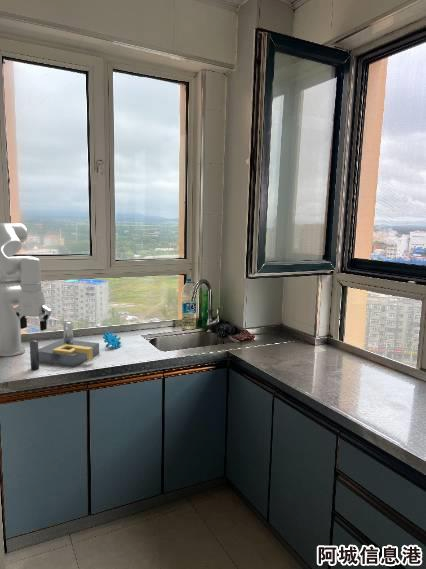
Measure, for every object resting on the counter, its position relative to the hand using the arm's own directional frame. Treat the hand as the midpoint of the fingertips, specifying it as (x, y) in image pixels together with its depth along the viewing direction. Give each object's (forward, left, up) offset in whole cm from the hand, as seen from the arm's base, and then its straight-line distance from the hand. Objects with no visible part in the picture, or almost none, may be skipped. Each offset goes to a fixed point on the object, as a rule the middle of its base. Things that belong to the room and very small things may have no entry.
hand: (33, 329), depth 176 cm
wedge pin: (0, 0, -17) cm, 17 cm away
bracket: (+10, +13, -15) cm, 22 cm away
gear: (+15, +38, -18) cm, 44 cm away
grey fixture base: (+4, +17, -17) cm, 25 cm away
